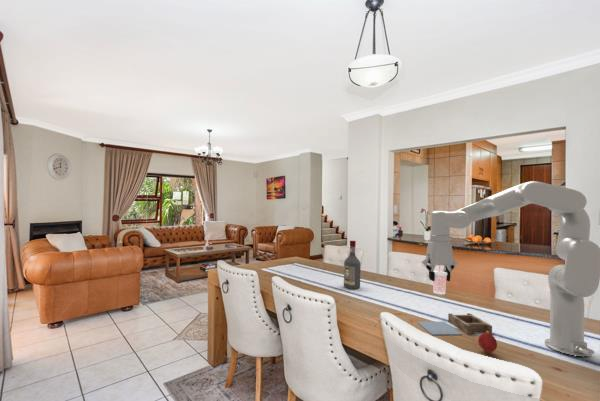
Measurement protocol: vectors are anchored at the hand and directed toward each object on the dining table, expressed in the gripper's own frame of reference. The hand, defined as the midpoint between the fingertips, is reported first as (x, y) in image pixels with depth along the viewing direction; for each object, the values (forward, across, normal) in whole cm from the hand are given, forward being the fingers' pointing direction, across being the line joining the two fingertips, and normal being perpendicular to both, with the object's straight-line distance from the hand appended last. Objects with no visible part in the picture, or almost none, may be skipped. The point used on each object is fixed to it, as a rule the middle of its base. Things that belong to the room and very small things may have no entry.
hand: (439, 280), depth 126 cm
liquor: (+21, +23, -63) cm, 70 cm away
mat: (+21, 0, 0) cm, 21 cm away
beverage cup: (+6, 0, 0) cm, 6 cm away
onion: (+21, -6, +21) cm, 31 cm away
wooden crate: (+21, -14, -1) cm, 25 cm away
